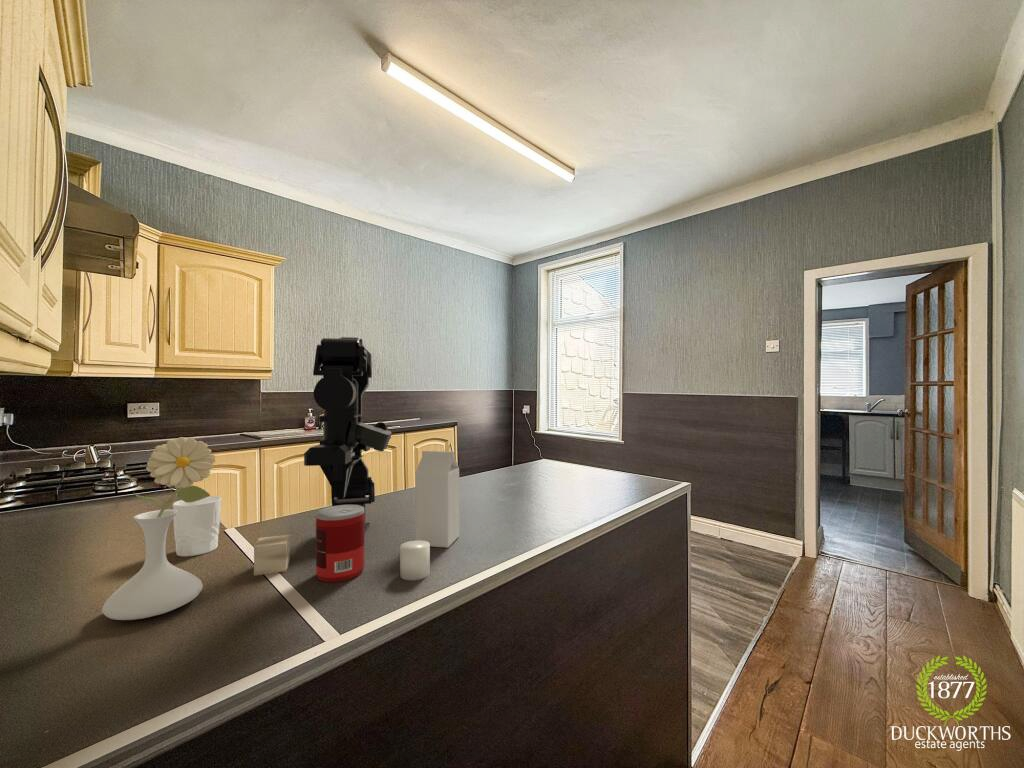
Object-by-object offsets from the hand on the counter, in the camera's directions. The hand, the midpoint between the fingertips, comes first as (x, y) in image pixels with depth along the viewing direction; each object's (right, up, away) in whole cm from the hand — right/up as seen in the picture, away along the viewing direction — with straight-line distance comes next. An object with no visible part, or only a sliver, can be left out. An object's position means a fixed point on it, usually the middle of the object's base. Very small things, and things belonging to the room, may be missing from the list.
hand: (340, 498), depth 75 cm
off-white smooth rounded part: (+13, -13, -1) cm, 19 cm away
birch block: (-13, -13, +2) cm, 19 cm away
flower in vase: (-22, -13, -12) cm, 28 cm away
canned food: (0, -13, 0) cm, 13 cm away
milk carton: (+14, -13, +15) cm, 25 cm away
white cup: (-33, -14, +11) cm, 38 cm away
